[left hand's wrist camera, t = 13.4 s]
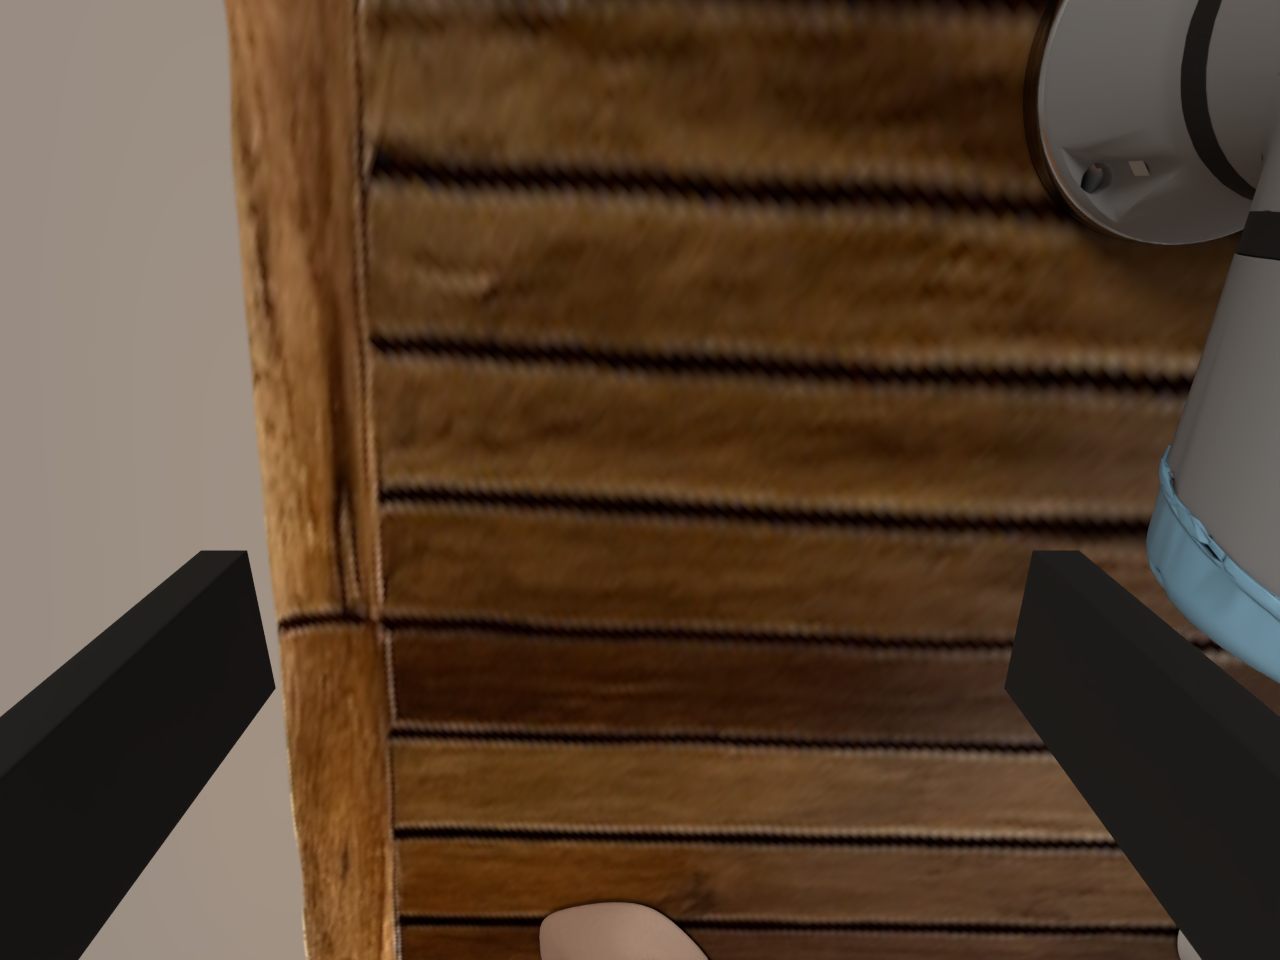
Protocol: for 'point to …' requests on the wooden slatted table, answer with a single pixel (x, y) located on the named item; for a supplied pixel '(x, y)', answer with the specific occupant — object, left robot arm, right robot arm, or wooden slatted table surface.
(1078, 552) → the left robot arm
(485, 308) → the wooden slatted table surface
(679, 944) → the anatomical model
